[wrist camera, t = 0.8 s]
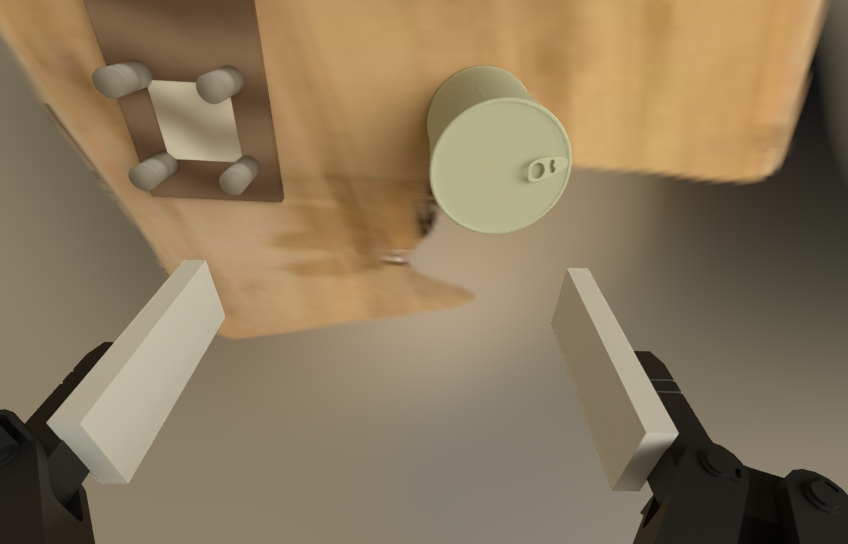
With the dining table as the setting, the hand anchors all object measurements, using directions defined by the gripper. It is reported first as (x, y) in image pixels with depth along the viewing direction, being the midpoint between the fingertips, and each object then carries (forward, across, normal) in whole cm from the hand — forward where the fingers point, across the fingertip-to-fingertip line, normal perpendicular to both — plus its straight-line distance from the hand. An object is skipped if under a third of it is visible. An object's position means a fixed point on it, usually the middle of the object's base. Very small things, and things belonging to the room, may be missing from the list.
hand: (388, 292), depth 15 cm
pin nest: (+24, -18, +2) cm, 30 cm away
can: (+25, +6, -1) cm, 25 cm away
